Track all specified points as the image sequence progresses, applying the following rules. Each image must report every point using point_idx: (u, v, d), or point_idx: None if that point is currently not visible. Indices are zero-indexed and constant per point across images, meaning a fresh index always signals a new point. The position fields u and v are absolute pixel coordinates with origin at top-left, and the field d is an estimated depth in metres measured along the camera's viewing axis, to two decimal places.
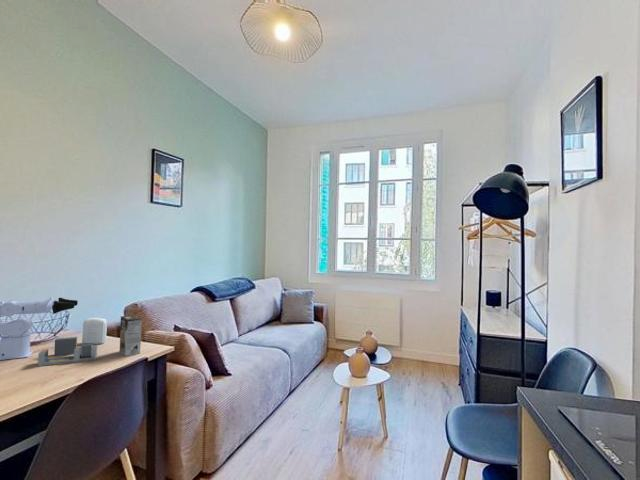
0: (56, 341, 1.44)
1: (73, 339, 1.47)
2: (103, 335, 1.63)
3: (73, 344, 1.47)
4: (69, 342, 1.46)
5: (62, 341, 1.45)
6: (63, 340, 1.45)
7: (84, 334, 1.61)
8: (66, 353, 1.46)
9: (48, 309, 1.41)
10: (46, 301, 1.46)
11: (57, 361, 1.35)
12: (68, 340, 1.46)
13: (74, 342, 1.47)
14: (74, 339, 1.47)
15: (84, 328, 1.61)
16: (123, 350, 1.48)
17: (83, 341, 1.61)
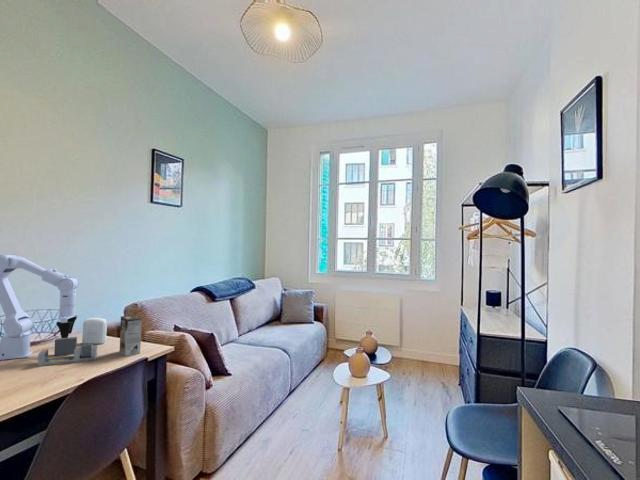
0: (56, 341, 1.44)
1: (73, 339, 1.47)
2: (103, 335, 1.63)
3: (73, 344, 1.47)
4: (69, 342, 1.46)
5: (62, 341, 1.45)
6: (63, 340, 1.45)
7: (84, 334, 1.61)
8: (66, 353, 1.46)
9: (62, 320, 1.40)
10: (73, 312, 1.47)
11: (57, 361, 1.35)
12: (68, 340, 1.46)
13: (74, 342, 1.47)
14: (74, 339, 1.47)
15: (84, 327, 1.61)
16: (123, 350, 1.48)
17: (83, 341, 1.61)
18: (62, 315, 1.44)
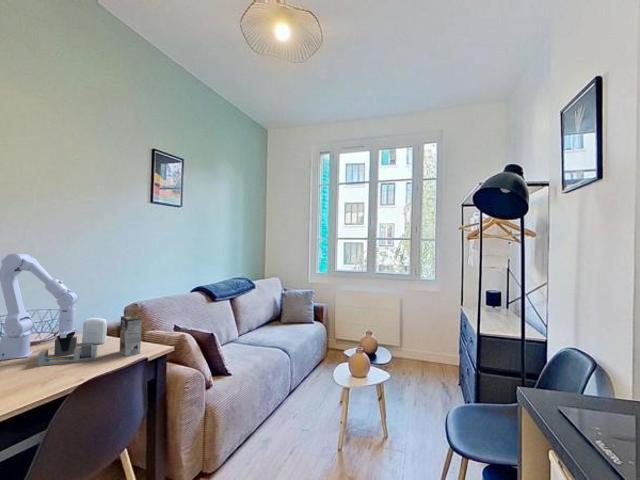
0: (56, 341, 1.44)
1: (73, 339, 1.47)
2: (103, 335, 1.63)
3: (73, 344, 1.47)
4: None
5: None
6: None
7: (84, 334, 1.61)
8: (66, 353, 1.46)
9: (61, 335, 1.40)
10: (72, 327, 1.47)
11: (57, 361, 1.35)
12: None
13: (74, 342, 1.47)
14: (74, 339, 1.47)
15: (84, 328, 1.61)
16: (123, 350, 1.48)
17: (83, 341, 1.61)
18: (61, 330, 1.44)
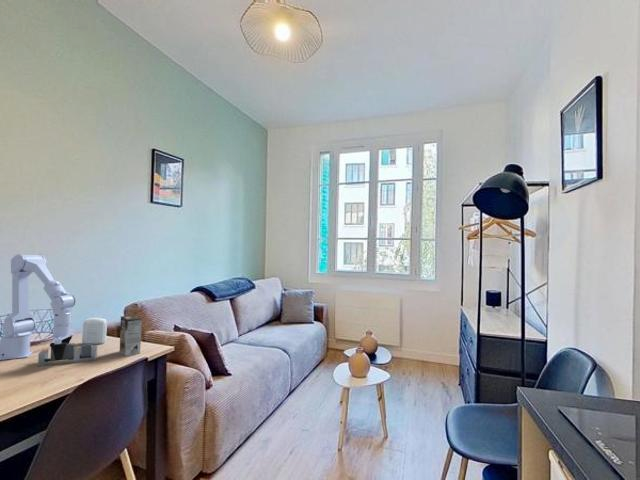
0: None
1: (70, 346, 1.38)
2: (103, 335, 1.63)
3: (70, 351, 1.38)
4: (66, 349, 1.37)
5: None
6: None
7: (84, 334, 1.61)
8: None
9: (56, 341, 1.31)
10: (67, 332, 1.37)
11: (57, 361, 1.35)
12: (65, 347, 1.37)
13: (72, 349, 1.38)
14: (72, 346, 1.38)
15: (84, 328, 1.61)
16: (123, 350, 1.48)
17: (83, 341, 1.61)
18: (56, 335, 1.35)
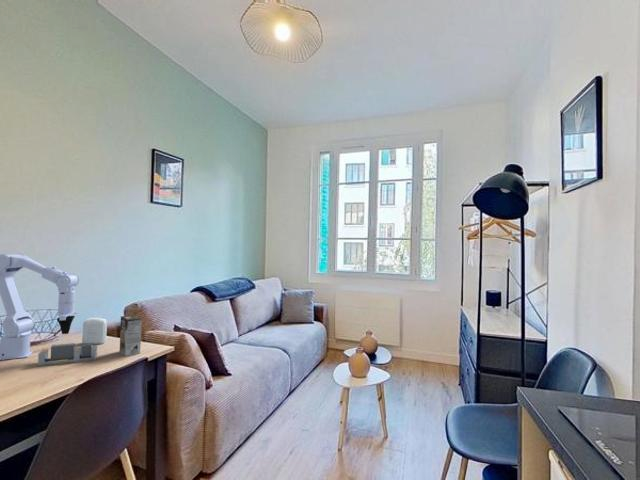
0: (52, 348, 1.35)
1: (70, 346, 1.38)
2: (103, 335, 1.63)
3: (70, 351, 1.38)
4: (66, 349, 1.37)
5: (59, 348, 1.36)
6: (60, 347, 1.36)
7: (84, 334, 1.61)
8: None
9: (61, 317, 1.37)
10: (72, 310, 1.43)
11: (57, 361, 1.35)
12: (65, 347, 1.37)
13: (72, 349, 1.38)
14: (72, 346, 1.38)
15: (84, 328, 1.61)
16: (123, 350, 1.48)
17: (83, 341, 1.61)
18: (61, 312, 1.41)
